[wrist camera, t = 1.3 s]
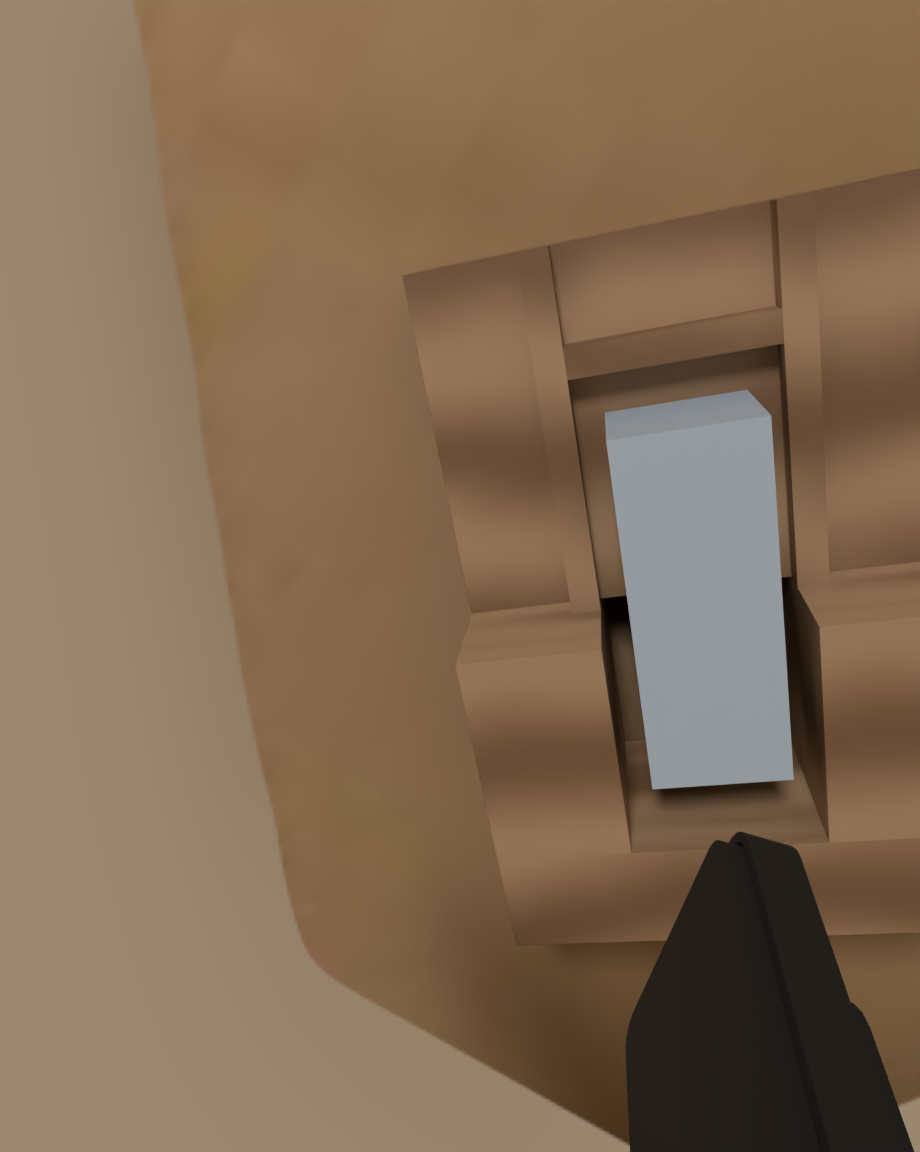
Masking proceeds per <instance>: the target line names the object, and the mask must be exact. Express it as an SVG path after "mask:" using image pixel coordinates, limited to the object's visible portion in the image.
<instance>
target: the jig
mask: <svg viewBox="0 0 920 1152" xmlns="http://www.w3.org/2000/svg"><path fill="white" fill-rule="evenodd" d="M403 281H404V286H405V291H406V296H407V301H408V306H409V310H410V315H411V320H412V325H413V330H414V335H415V340H416V345H417V349H418V354H419V359H420V364H421V369H422V374H423V379H424V384H425V388H426V393H427V398H428V403H429V408H430V413H431V418H432V422H433V427H434V432H435V437H436V442H437V447H438V452H439V457H440V461H441V466H442V471H443V476H444V481H445V486H446V491H447V496H448V500H449V505H450V510H451V515H452V520H453V525H454V530H455V535H456V539H457V544H458V549H459V554H460V559H461V564H462V569H463V574H464V578H465V583H466V588H467V593H468V598H469V603H470V608H471V613H472V614H471V617H470V620H469V623H468V626H467V630H466V633H465V636H464V639H463V642H462V645H461V648H460V651H459V654H458V658H457V661H456V664H455V666H456V671H457V675H458V680H459V684H460V689H461V694H462V698H463V703H464V707H465V712H466V717H467V721H468V726H469V730H470V735H471V740H472V744H473V749H474V753H475V758H476V762H477V767H478V772H479V776H480V781H481V785H482V790H483V795H484V799H485V804H486V808H487V813H488V818H489V822H490V827H491V831H492V836H493V840H494V845H495V850H496V854H497V859H498V863H499V868H500V873H501V877H502V882H503V886H504V891H505V896H506V900H507V905H508V909H509V914H510V918H511V923H512V928H513V932H514V937H515V941H516V945H541V944H573V943H604V942H636V941H667V938H668V936H669V934H670V932H671V930H672V928H673V925H674V923H675V921H676V919H677V917H678V915H679V912H680V910H681V908H682V906H683V904H684V902H685V899H686V897H687V895H688V893H689V891H690V889H691V886H692V884H693V882H694V880H695V878H696V876H697V873H698V871H699V869H700V867H701V865H702V863H703V860H704V858H705V856H706V854H707V852H708V850H709V848H710V846H711V845H712V843H713V842H714V841H715V840H721V841H725V842H728V843H729V841H730V839H731V838H732V837H733V836H734V835H735V834H736V833H737V832H745V833H748V834H752V835H755V836H759V837H762V838H766V839H769V840H772V841H776V842H779V843H783V844H786V845H790V846H792V847H794V848H795V849H797V851H798V853H799V855H800V856H801V859H802V862H803V865H804V868H805V871H806V874H807V877H808V880H809V883H810V886H811V888H812V891H813V894H814V897H815V900H816V903H817V906H818V909H819V912H820V915H821V918H822V921H823V924H824V926H825V929H826V932H827V935H856V934H888V933H919V932H920V169H918V170H912V171H907V172H902V173H897V174H892V175H887V176H883V177H878V178H873V179H868V180H863V181H858V182H853V183H848V184H843V185H839V186H834V187H829V188H824V189H819V190H814V191H809V192H804V193H800V194H795V195H790V196H785V197H780V198H775V199H770V200H765V201H760V202H756V203H751V204H746V205H741V206H736V207H731V208H726V209H721V210H717V211H712V212H707V213H702V214H697V215H692V216H687V217H682V218H677V219H673V220H668V221H663V222H658V223H653V224H648V225H643V226H638V227H634V228H629V229H624V230H619V231H614V232H609V233H604V234H599V235H595V236H590V237H585V238H580V239H575V240H570V241H565V242H560V243H555V244H551V245H546V246H541V247H536V248H531V249H526V250H521V251H516V252H512V253H507V254H502V255H497V256H492V257H487V258H482V259H477V260H472V261H468V262H463V263H458V264H453V265H448V266H443V267H438V268H433V269H429V270H424V271H419V272H415V273H411V274H407V275H403ZM742 390H748V391H749V392H750V393H751V394H752V395H753V396H754V397H755V399H756V400H757V401H758V402H759V403H760V404H761V405H762V406H763V407H764V408H765V409H766V410H767V411H768V413H769V414H770V415H771V420H772V436H773V452H774V468H775V485H776V501H777V517H778V533H779V549H780V565H781V582H782V598H783V614H784V630H785V646H786V662H787V679H788V695H789V711H790V727H791V743H792V759H793V776H794V780H783V781H769V782H754V783H739V784H725V785H710V786H695V787H681V788H666V789H652V782H651V775H650V767H649V760H648V752H647V745H646V740H634V741H625V737H624V730H623V723H622V716H621V709H620V702H619V695H618V688H617V681H616V674H615V667H614V660H613V653H612V646H611V639H610V632H609V625H608V618H607V611H606V604H605V598H609V597H618V596H627V594H626V587H625V579H624V572H623V564H622V557H621V549H620V542H619V534H618V527H617V519H616V511H615V504H614V496H613V489H612V481H611V474H610V466H609V459H608V451H607V444H606V427H605V413H606V412H612V411H618V410H624V409H631V408H637V407H643V406H649V405H655V404H662V403H668V402H674V401H680V400H686V399H693V398H699V397H705V396H711V395H718V394H724V393H730V392H736V391H742Z"/></svg>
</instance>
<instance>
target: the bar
mask: <svg viewBox="0 0 920 1152" xmlns="http://www.w3.org/2000/svg"><path fill="white" fill-rule="evenodd" d="M605 427H606V444H607V451H608V459H609V466H610V474H611V481H612V489H613V496H614V504H615V511H616V519H617V527H618V534H619V542H620V549H621V557H622V564H623V572H624V579H625V587H626V594H627V602H628V609H629V617H630V624H631V632H632V639H633V647H634V654H635V662H636V670H637V677H638V685H639V692H640V700H641V707H642V715H643V722H644V730H645V737H646V745H647V752H648V760H649V767H650V775H651V782H652V789H666V788H681V787H695V786H710V785H725V784H739V783H754V782H769V781H783V780H794V776H793V759H792V743H791V727H790V711H789V695H788V679H787V662H786V646H785V630H784V614H783V598H782V582H781V565H780V549H779V533H778V517H777V501H776V485H775V468H774V452H773V436H772V420H771V415H770V414H769V413H768V411H767V410H766V409H765V408H764V407H763V406H762V405H761V404H760V403H759V402H758V401H757V400H756V399H755V397H754V396H753V395H752V394H751V393H750V392H749V391H748V390H742V391H736V392H730V393H724V394H718V395H711V396H705V397H699V398H693V399H686V400H680V401H674V402H668V403H662V404H655V405H649V406H643V407H637V408H631V409H624V410H618V411H612V412H606V413H605Z"/></svg>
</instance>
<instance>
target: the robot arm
mask: <svg viewBox="0 0 920 1152" xmlns="http://www.w3.org/2000/svg"><path fill="white" fill-rule="evenodd" d="M626 1069H627V1091H628V1112H629V1134H630V1152H914V1150H913V1147H912V1145H911V1142H910V1139H909V1136H908V1133H907V1130H906V1128H905V1125H904V1122H903V1119H902V1117H901V1114H900V1111H899V1108H898V1105H897V1102H896V1100H895V1097H894V1094H893V1091H892V1088H891V1085H890V1083H889V1080H888V1077H887V1074H886V1071H885V1069H884V1066H883V1063H882V1060H881V1057H880V1055H879V1052H878V1049H877V1046H876V1043H875V1040H874V1038H873V1035H872V1032H871V1029H870V1027H869V1025H868V1023H867V1021H866V1019H865V1017H864V1015H863V1013H862V1012H861V1011H860V1010H859V1009H858V1008H857V1007H856V1006H855V1005H854V1004H853V1003H851V1002H850V1000H849V997H848V994H847V991H846V988H845V985H844V982H843V979H842V976H841V973H840V970H839V967H838V964H837V962H836V959H835V956H834V953H833V950H832V947H831V944H830V941H829V938H828V935H827V932H826V929H825V926H824V924H823V921H822V918H821V915H820V912H819V909H818V906H817V903H816V900H815V897H814V894H813V891H812V888H811V886H810V883H809V880H808V877H807V874H806V871H805V868H804V865H803V862H802V859H801V856H800V855H799V853H798V851H797V849H795V848H794V847H792V846H790V845H786V844H783V843H779V842H776V841H772V840H769V839H766V838H762V837H759V836H755V835H752V834H748V833H745V832H737V833H736V834H735V835H734V836H733V837H732V838H731V839H730V841H729V843H728V842H725V841H721V840H715V841H714V842H713V843H712V845H711V846H710V848H709V850H708V852H707V854H706V856H705V858H704V860H703V863H702V865H701V867H700V869H699V871H698V873H697V876H696V878H695V880H694V882H693V884H692V886H691V889H690V891H689V893H688V895H687V897H686V899H685V902H684V904H683V906H682V908H681V910H680V912H679V915H678V917H677V919H676V921H675V923H674V925H673V928H672V930H671V932H670V934H669V936H668V938H667V941H666V943H665V945H664V947H663V949H662V951H661V954H660V956H659V958H658V960H657V962H656V964H655V966H654V969H653V971H652V973H651V975H650V977H649V979H648V982H647V984H646V986H645V988H644V990H643V992H642V995H641V997H640V999H639V1001H638V1003H637V1005H636V1008H635V1010H634V1012H633V1014H632V1017H631V1020H630V1024H629V1028H628V1033H627V1040H626Z"/></svg>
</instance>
